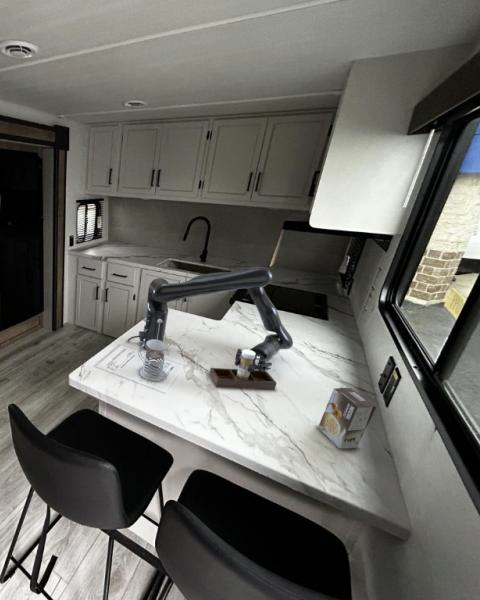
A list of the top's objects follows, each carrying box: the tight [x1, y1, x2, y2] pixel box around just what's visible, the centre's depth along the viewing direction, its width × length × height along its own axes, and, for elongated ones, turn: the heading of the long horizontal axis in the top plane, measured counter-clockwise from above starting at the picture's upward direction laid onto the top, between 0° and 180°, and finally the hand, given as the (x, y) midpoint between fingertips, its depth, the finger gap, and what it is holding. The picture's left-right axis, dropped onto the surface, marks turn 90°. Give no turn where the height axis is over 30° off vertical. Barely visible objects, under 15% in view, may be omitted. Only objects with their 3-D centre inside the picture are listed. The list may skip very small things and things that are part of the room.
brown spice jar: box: [236, 348, 255, 380], centre depth 124 cm, size 5×5×14 cm
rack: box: [208, 367, 278, 391], centre depth 126 cm, size 8×23×4 cm, turn 88°
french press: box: [137, 319, 168, 382], centre depth 126 cm, size 10×12×25 cm
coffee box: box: [317, 387, 377, 450], centre depth 99 cm, size 9×6×16 cm
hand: (242, 366), depth 122 cm, fingers closed on brown spice jar, 4 cm apart
